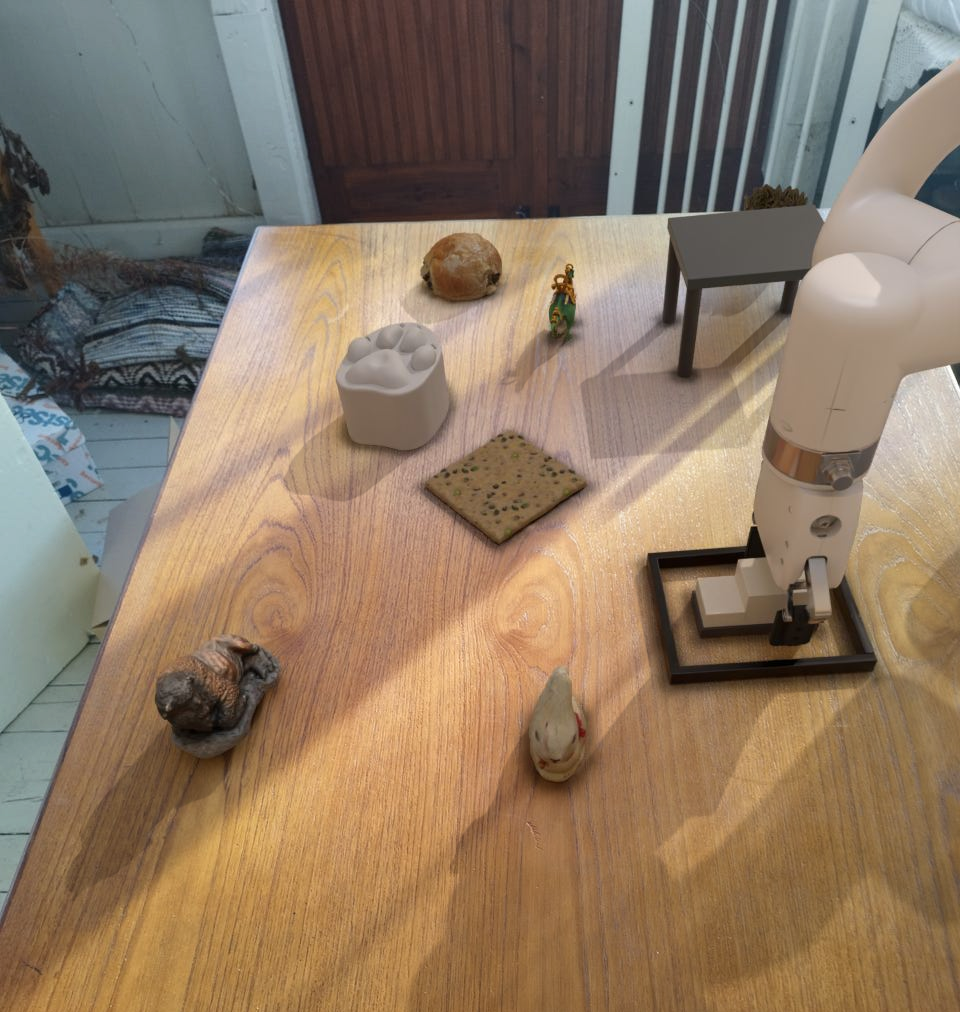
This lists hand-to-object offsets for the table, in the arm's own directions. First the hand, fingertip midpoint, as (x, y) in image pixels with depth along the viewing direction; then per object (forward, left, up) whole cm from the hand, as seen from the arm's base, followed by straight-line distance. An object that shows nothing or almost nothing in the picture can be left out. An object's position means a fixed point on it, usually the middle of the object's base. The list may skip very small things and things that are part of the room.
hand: (774, 599), depth 75 cm
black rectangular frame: (+2, 0, -2) cm, 2 cm away
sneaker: (+2, 0, -2) cm, 2 cm away
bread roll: (+27, -59, -2) cm, 65 cm away
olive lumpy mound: (-12, -58, -2) cm, 59 cm away
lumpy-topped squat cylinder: (+34, -33, -2) cm, 47 cm away
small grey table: (-5, -41, -2) cm, 41 cm away
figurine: (+15, -45, -2) cm, 47 cm away
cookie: (+23, -19, -2) cm, 30 cm away
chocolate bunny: (+20, +12, -2) cm, 23 cm away
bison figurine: (+47, +7, -2) cm, 47 cm away
